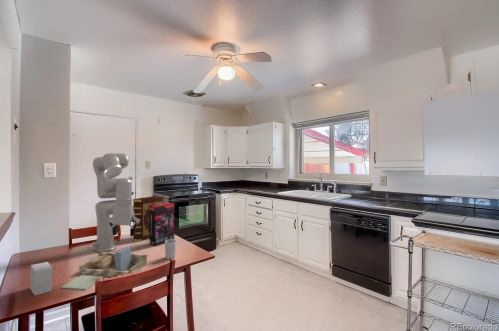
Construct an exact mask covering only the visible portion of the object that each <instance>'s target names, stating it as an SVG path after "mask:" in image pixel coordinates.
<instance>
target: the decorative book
mask: <svg viewBox="0 0 499 331" xmlns="http://www.w3.org/2000/svg"><path fill="white" fill-rule="evenodd" d="M132 202H133V204H132V205H133V208H134V217H136V218H138V219H140V222H139V223H138V225H137V226H136V227H135V235H133V236H132V241H133V242H142V241H146V240H150V235H149V206H150V205H156V204H163V203H164V196H158V195H155V196H154V195H153V196H146V197H139V198H132ZM135 223H136V221H135V220H134V224H135Z"/></svg>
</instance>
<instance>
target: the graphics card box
mask: <svg viewBox="0 0 499 331" xmlns="http://www.w3.org/2000/svg"><path fill="white" fill-rule="evenodd" d="M174 208H175V205H174V203H173V202H163V204H156V205H150V206H149V235H150V238H149V245H151V246H155V247H156V246H158V245H163V244H165V241H166V240H169V239H175V215H174V214H175V212H174V211H175V209H174Z"/></svg>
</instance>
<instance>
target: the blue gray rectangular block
mask: <svg viewBox="0 0 499 331" xmlns="http://www.w3.org/2000/svg"><path fill="white" fill-rule="evenodd" d="M114 253H115V264H114V266H115V268H114V270H115V271H128V270H129V269H130V268H132V265H131V254H132V247H131V246H124V247H122V248H121V249H119V250H117V251H116V252H114Z"/></svg>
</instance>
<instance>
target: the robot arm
mask: <svg viewBox="0 0 499 331" xmlns="http://www.w3.org/2000/svg"><path fill="white" fill-rule="evenodd" d="M128 165H129V157H128V156H127V154H126V153H114V152H113V153H112V152H108V153H106V154H104V155H103V156H99V157H95V158H94V159H93V161H92V169H93V172H94V173H95V176H96V185H97V190H96V192H97V196H98V198H99V199H106V200H100V201H98V202H97V203H96V204H95V207H94V208H95V209H94V210H95V214H96V241H93V242H92V244H91V246H93V247H94V246H95V247H94V248H93V250H94V252H96V253H99V252H107V253H108V252H111V251H113V250H115V249H116V248H117V244H115V243H114V241H115V240H114V238H115V237H114V236H117V235H118V234H119V226H129V227H130V229H129V230H130V231H129V236H130V237H133V235H135V227H136V226H137V225H138V223H139V222H140V219H138V218H136V217H134V208H133V204H132V202H133V196H132V195H133V193H132V190H133V188H132V187H133V186H132V185H133V184H132V182H133V181H132V180H131V179H129V178H127V177H126V178H124V177H121V178H120V177H118V176H119V175H121V173H122V172H123V170H124V169H125V168H127V167H128ZM116 177H118V178H116ZM107 199H108V200H107ZM111 215H112V217H111ZM134 220H135V221H136V223H135V224H134Z"/></svg>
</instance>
